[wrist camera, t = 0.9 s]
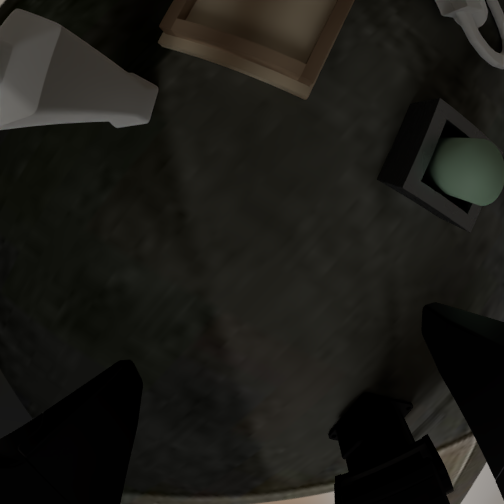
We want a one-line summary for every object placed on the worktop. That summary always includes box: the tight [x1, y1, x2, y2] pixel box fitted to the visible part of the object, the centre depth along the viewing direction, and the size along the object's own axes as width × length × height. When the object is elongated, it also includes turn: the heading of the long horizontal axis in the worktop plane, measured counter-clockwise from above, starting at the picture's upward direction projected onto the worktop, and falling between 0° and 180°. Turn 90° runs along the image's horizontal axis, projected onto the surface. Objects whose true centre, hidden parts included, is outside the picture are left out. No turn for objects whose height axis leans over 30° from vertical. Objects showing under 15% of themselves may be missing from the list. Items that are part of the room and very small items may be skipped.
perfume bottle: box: [0, 9, 158, 130], centre depth 11 cm, size 5×4×15 cm
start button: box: [425, 137, 504, 206], centre depth 15 cm, size 4×4×4 cm
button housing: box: [377, 98, 503, 232], centre depth 17 cm, size 6×6×4 cm
